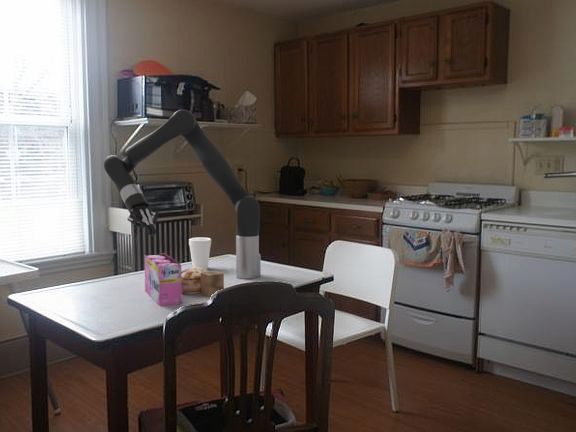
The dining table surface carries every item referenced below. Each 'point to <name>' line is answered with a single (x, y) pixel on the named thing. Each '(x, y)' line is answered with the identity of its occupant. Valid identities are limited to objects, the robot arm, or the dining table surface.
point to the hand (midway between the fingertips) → (153, 234)
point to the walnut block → (211, 282)
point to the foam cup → (200, 251)
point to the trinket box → (191, 280)
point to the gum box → (163, 279)
